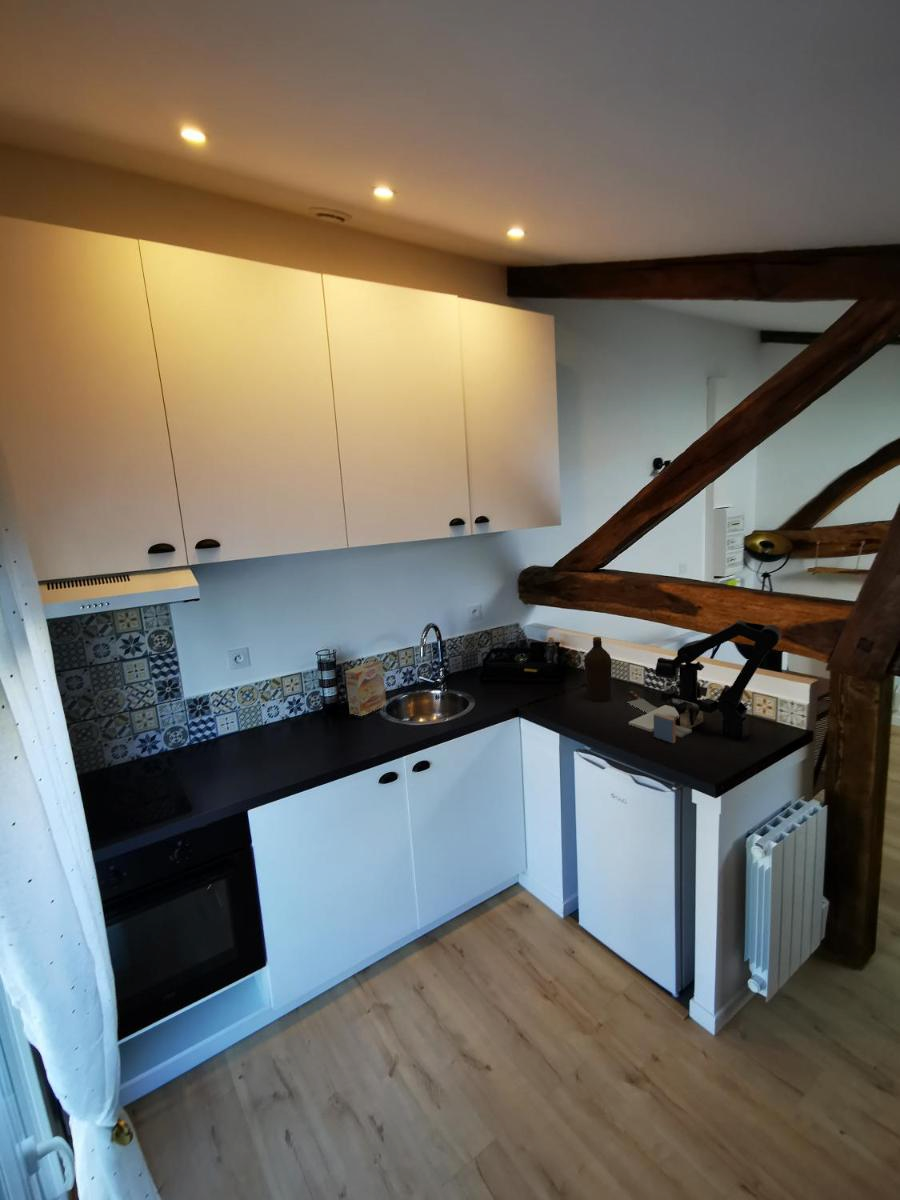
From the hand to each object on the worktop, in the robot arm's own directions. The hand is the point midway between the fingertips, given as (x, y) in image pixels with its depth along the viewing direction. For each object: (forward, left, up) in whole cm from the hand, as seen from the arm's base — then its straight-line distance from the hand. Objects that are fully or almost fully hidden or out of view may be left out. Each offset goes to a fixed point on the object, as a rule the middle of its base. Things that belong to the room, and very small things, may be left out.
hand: (688, 724), depth 192 cm
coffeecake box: (+98, +72, -1) cm, 122 cm away
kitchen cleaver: (+25, -7, -2) cm, 26 cm away
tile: (0, +14, -1) cm, 14 cm away
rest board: (+11, +1, -1) cm, 11 cm away
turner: (0, 0, -1) cm, 1 cm away
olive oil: (+40, -2, -1) cm, 40 cm away
